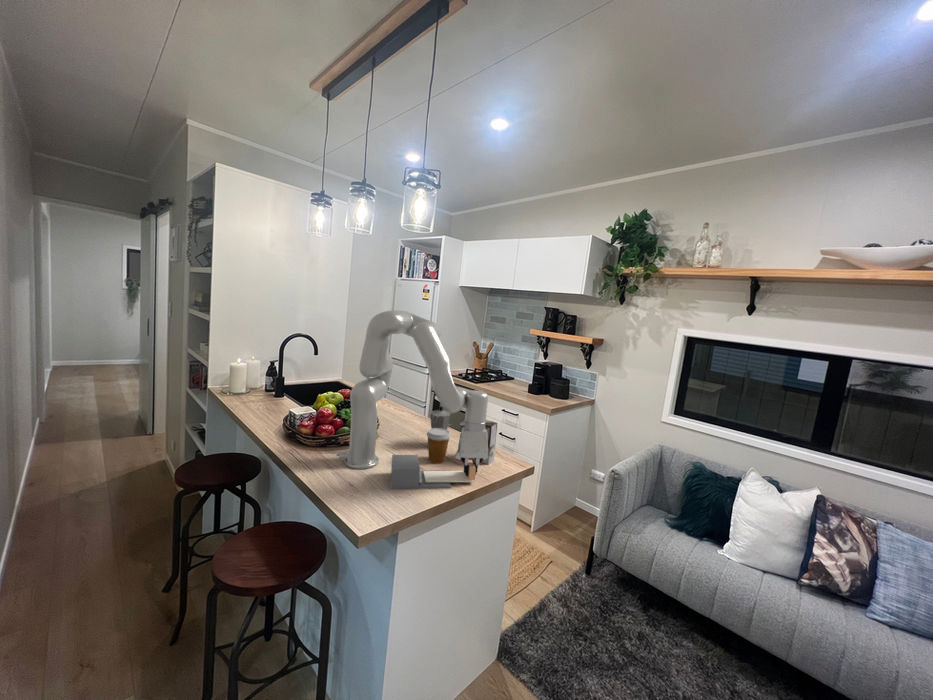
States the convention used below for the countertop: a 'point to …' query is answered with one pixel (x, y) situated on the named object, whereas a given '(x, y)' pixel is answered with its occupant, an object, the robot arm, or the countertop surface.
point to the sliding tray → (451, 475)
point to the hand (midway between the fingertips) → (470, 474)
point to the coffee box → (490, 441)
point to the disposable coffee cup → (437, 444)
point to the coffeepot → (440, 418)
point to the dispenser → (411, 474)
